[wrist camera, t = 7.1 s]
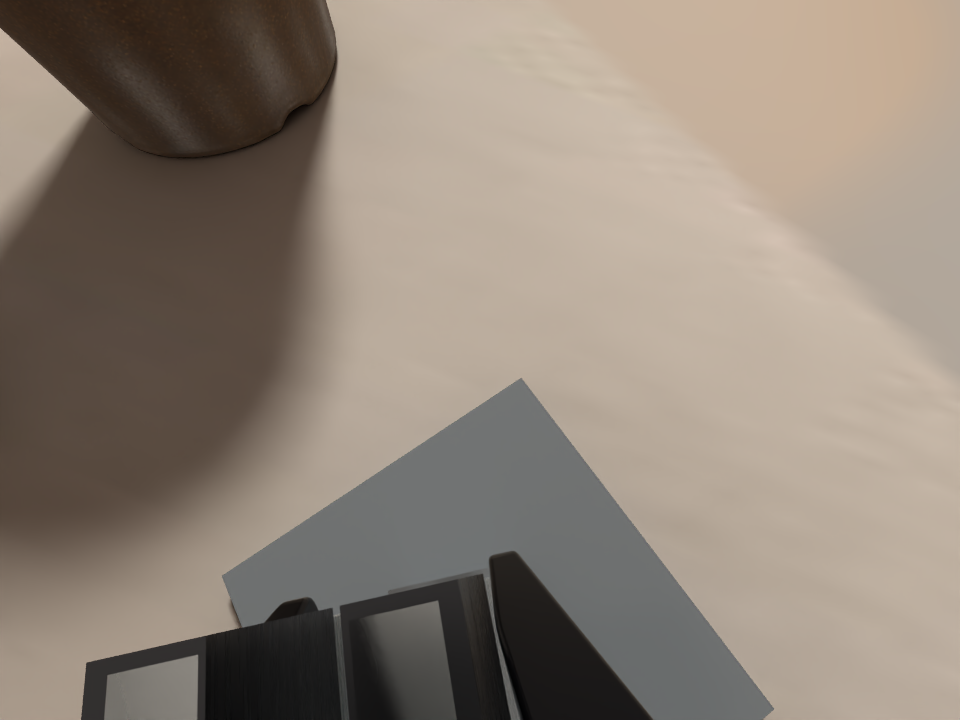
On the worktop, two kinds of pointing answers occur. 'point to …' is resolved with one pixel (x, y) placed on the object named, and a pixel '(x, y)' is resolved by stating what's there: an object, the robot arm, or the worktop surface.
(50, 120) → the worktop surface
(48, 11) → the plant pot
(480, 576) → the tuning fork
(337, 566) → the plate
